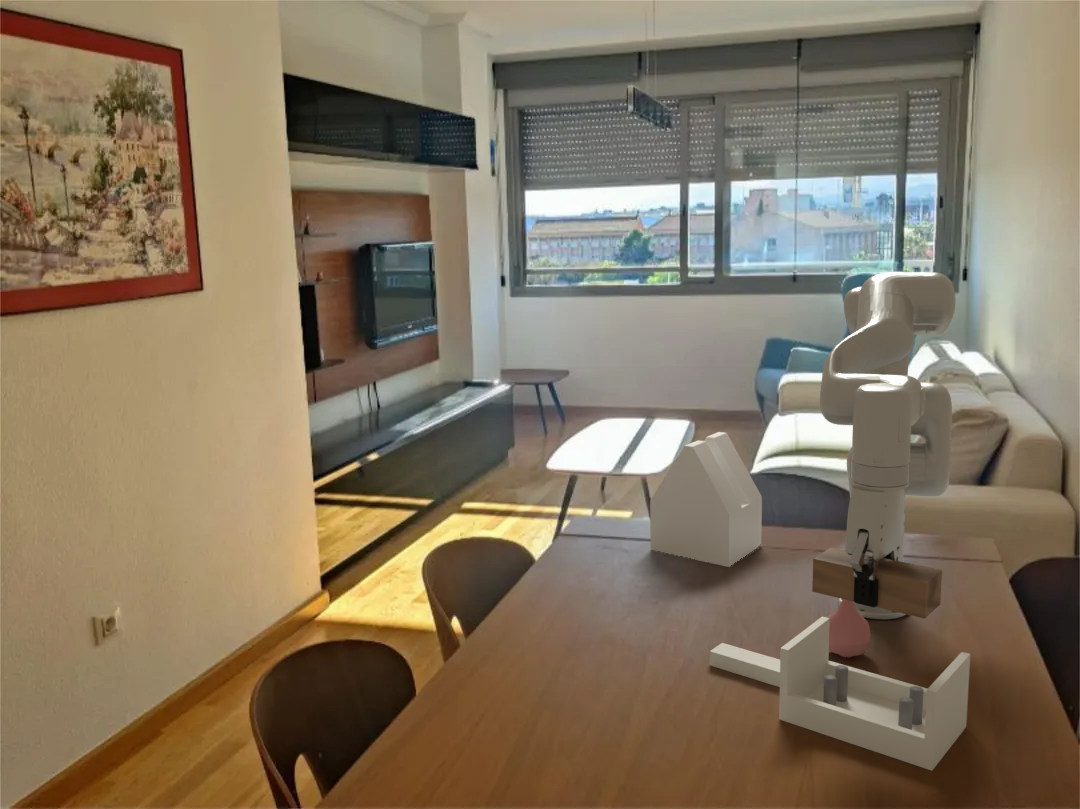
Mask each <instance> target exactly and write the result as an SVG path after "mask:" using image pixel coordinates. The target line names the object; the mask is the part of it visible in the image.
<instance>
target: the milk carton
mask: <svg viewBox="0 0 1080 809" xmlns="http://www.w3.org/2000/svg"><path fill="white" fill-rule="evenodd" d="M762 499H763V496H762V495H761V492H760V491H759V489H758V487H757V486H756V484H755V482H754V480H753V478H752V477H751V475H750V472H749V471H748V469H747V467H746V466H745V464H744V461H743V460H742V458H741V456H740V454H739V452H738V451H737V449H736V447H735V445H734V443H733V441H732V439H731V438H730V437H729V435H728V432H722V431H718V432H715V433H712V434H710V435H707V436H705V438H704V440H700V439H699V440H698V439H697V440H696V441H693V442H690V443H687V444H685V445H684V446H683V447H682V449H681V451H680V452H679V454H678V456H677V457H676V458H675V460H674V462H673V464H671V467H670V468H669V470H668V472H667V473H666V474H665V476H664V477H663V479H662V481H661V482H660V484H659V485H658V487H657V489H656V490H655V493H654V494H653V495H652V497H651V499H650V501H649V512H650V513H649V515H650V518H649V519H650V525H649V526H650V528H649V529H650V530H649V531H650V550H651V549H652V550H656V551H655V552H657V551H661V552H660V553H662V552H665V553H664V554H666V553H669V554H668V555H671V554H675V555H674V556H676V555H678V556H677V557H680V556H683V557H682V558H685V557H688V558H687V559H689V558H691V560H694V559H695V561H700V562H704V563H708V562H709V563H708V564H712V565H719V566H723V567H728V568H730V567H732V566H733V565H735V564H736V563H737V561H738V562H739V561H741V560H742V559H744V558H745V556H746V555H747V554H749V553H750V552H752V551H753V550H754V549H756V548H757V547H758V546H759V545H760V544H761V545H762V528H763V527H762V522H763V521H762V520H763V518H762V517H763V515H762V514H763V500H762ZM652 550H651V551H652ZM753 552H754V551H753ZM753 552H752V553H753ZM750 554H751V553H750ZM750 554H749V555H750ZM747 556H748V555H747ZM747 556H746V557H747ZM743 557H744V558H743ZM741 558H742V559H741ZM740 559H741V560H740ZM735 562H736V563H735ZM734 563H735V564H734ZM731 565H732V566H731Z"/></svg>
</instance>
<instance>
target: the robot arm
mask: <svg viewBox="0 0 1080 809" xmlns="http://www.w3.org/2000/svg"><path fill="white" fill-rule="evenodd" d="M955 309H956V292H955V287H954V285H953V282H952V281H951V279H950V278H949V277H948V276H946V274H943V273H940V272H934V271H933V272H930V271H929V272H928V271H927V272H924V271H923V272H885V273H884V272H882V273H878V274H875V275H872V276H870V277H869V278H868V279H866V280H865V281H864V283H863V284H862V285H861V286H857V287H854V288H852V289H850V290H848V292H846V294H845V296H844V300H843V312H844V318H845V322H846V326H847V328H848V331H849V333H850V334H849V335H848V336H846V337H845V338H844V339H842V340H841V341H840V342H838V343H837V345H835V346H834V347H833V348H832V349H831V350H830V352H829V354H828V355H827V356H826V359H825V362H824V363H823V368H822V375H821V376H822V377H821V385H820V391H819V392H820V393H819V404H820V405H819V407H820V410H821V411H820V412H821V414H822V416H823V417H824V419H825V420H826V421H827V422H829V423H830V424H833V425H837V426H838V425H839V426H852V438H851V439H852V442H851V444H852V446H851V447H850V448H849V451H848V452H847V455H846V456H847V457H846V472H847V481H848V489H849V504H848V510H847V522H846V532H845V533H846V534H845V548H844V550H845V551H846V553H847V554H848V555H852V556H851V559H850V563H851V565H852V566H853V570H854V574H853V575H854V604H855V606H856V608H857V610H858V612H859V613H860V614H861V615H862V616H863V617H864V618H866V619H872V620H892V619H895V620H896V619H899V618H902V617H904V616H907V614H903V613H899V612H895V611H891V610H887V609H882V608H878V607H876V606H877V605H878V584H879V579H876V574H877V569H878V563H879V560H880V559H882V558H886V559H891V560H895V561H900V562H904V549H905V548H904V547H905V546H904V544H905V530H906V529H905V528H906V527H905V524H906V523H905V522H906V500H905V498H906V497H905V496H911V497H912V496H913V497H914V496H915V497H939V496H941V495H942V496H943V494H944V493H945V492H946V491H947V489H948V487H949V483H950V478H951V459H952V458H951V457H952V454H951V453H952V433H953V432H952V431H953V428H952V427H953V405H952V398H951V394H950V392H949V390H948V388H946V387H945V386H944V385H942V384H941V383H937V382H936V383H935V382H928V381H926V382H923V381H921V382H920V381H919V380H918V379H917V378H916V377H914V376H911V375H909V374H908V373H909V361H910V360H909V353H910V352H911V351H912V349H913V347H914V343H915V342H914V341H915V335H923V336H924V335H927V336H928V335H932V336H933V335H941V334H944V332H946V331H947V330H948V327H949V326H950V323H951V322H952V320H953V318H954V314H955ZM911 436H917V437H921V438H922V439H923V440H924V442H911V439H912V438H911ZM865 554H866V555H871V556H872V557H870V556H866V555H865ZM864 560H868V561H872V564H871V569H870V568H869V566H868V565H867V564H865V562H864ZM842 600H843V599H841V598H838V604H839V605H840V603H841V602H842ZM839 605H838V606H839Z"/></svg>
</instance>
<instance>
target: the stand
mask: <svg viewBox="0 0 1080 809" xmlns="http://www.w3.org/2000/svg"><path fill="white" fill-rule="evenodd" d="M829 623H830V618H827V616H821V617H820V618H818V619H817V620H815V621H814V622H813V623H812V624H810V625H809V626H808V627H806V628H805V629H803V630H802V631H801V632H800V633H799V634H797V635H795V636H794V637H793V638H792V639H791V640H789V641H787V642H786V643H785V644H784V645H783V646H781V647H780V651H779V652H780V653H779V654H780V655H779V657H780V658H779V660H780V687H779V707H778V708H779V709H778V710H779V711H778V712H779V713H778V715H779V716H778V717H779V718H778V719H779V720H780V721H783V722H785V723H789V724H790V725H791V724H792V725H794V726H798V727H801V728H804V729H807V730H809V731H813V732H816V733H818V734H822V735H825V736H827V737H830V738H834V739H836V740H839V741H842V742H846V743H847V744H852V745H854V746H856V747H860V748H864V749H866V750H869V751H872V752H875V753H877V754H882V755H884V756H887V757H890V758H893V759H896V760H899V761H902V762H905V763H908V764H910V765H914V766H917V767H920V768H922V769H926V770H928V771H933V770H935V768H936V767H937V765H938V764H939V763H940V761H942V759H943V757H944V756H945V755H946V753H948V751H949V750H950V749H951V748H952V746H953V745H954V743H955V742H956V741H957V739H959V737H960V736H961V735H962V733H963V732H964V731H965V729H966V728H967V720H968V702H969V683H970V668H971V654H970V653H968V652H964V651H961V652H960V653H959V654H958V655H957V656H956V657H955V658H954V660H952V662H950V664H949V665H948V666H947V667H946V668H945V669H944V671H942V673H940V675H939V676H938V677H937V678H936V679H935V680H934V681H933V682H932V683H931V684H930V686H929V687H928V688H927V687H923V686H919V685H917V684H912V683H909V682H906V681H902V680H899V679H894V678H891V677H888V676H884V675H881V674H877V673H873V672H870V671H867V670H864V669H860V668H856V667H854V666H849V665H846V664H841V663H839V662H835V661H831V660H829V658H830V656H829V653H830V650H829Z"/></svg>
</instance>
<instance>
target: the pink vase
mask: <svg viewBox="0 0 1080 809" xmlns="http://www.w3.org/2000/svg"><path fill="white" fill-rule="evenodd" d="M826 618H830V623H829V652H831V653H834V654H836V655H839V656H840V657H843V658H846V657H847V658H852V657H856V656H861V655H863V654H865V653H866V651H867V649H868V647H869V644H870V641H871V639H872V636H871V635H872V634H871V628H870V624H869V622H868V620H867V619H865V617H863V616H862V615H861V614H860V613H859V612H858V610H857V608H856V606H855V604H854V602H853V601H849V600H845V599H843V600H842V602H841V603H840V605H838V606H837V608H836V610H834V612H832V613H831V614H829V615H828V616H826Z"/></svg>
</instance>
